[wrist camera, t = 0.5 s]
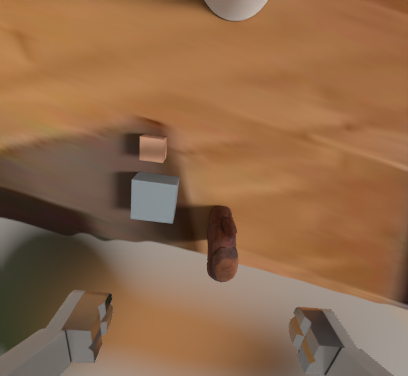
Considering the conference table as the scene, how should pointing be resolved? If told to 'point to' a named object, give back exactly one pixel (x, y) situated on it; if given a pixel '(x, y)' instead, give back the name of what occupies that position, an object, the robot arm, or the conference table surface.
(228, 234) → the wooden figurine
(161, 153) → the terracotta cube
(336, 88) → the conference table surface
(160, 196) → the slate base block
